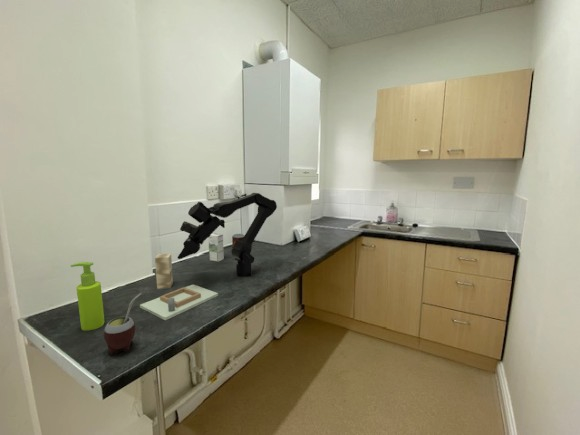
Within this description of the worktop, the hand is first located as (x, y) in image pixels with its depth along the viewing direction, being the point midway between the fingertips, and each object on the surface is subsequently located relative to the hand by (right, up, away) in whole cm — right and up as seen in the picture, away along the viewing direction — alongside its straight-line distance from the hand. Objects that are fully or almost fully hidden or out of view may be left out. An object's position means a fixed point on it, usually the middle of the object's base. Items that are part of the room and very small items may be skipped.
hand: (180, 255), depth 114 cm
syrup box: (+6, -8, +36) cm, 37 cm away
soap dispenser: (-16, -18, -29) cm, 38 cm away
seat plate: (+5, -15, -13) cm, 21 cm away
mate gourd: (+1, -20, -40) cm, 45 cm away
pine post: (-7, -13, +1) cm, 15 cm away
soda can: (+16, -6, +44) cm, 47 cm away
